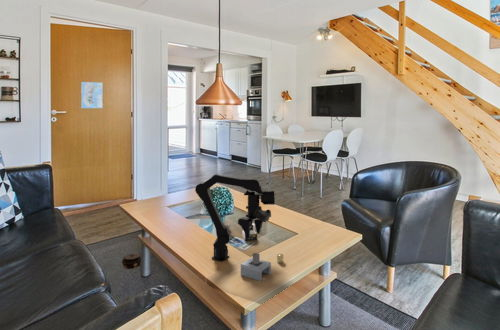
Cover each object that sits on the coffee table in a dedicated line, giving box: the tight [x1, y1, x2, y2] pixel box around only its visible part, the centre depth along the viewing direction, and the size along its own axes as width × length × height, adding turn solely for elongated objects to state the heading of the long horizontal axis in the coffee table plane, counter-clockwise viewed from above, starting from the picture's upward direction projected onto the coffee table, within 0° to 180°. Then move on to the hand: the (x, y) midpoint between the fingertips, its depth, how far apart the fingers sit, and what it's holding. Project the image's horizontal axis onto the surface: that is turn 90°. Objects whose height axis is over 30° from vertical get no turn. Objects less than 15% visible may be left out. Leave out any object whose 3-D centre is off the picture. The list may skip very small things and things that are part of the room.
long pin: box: [252, 252, 261, 266], centre depth 133 cm, size 3×3×9 cm
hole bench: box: [240, 257, 272, 282], centre depth 133 cm, size 10×9×5 cm
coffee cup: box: [121, 253, 142, 270], centre depth 144 cm, size 9×8×13 cm
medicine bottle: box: [241, 222, 258, 242], centre depth 173 cm, size 7×7×12 cm
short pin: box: [276, 253, 284, 264], centre depth 145 cm, size 3×3×4 cm
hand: (253, 235), depth 148 cm, fingers open, 9 cm apart
